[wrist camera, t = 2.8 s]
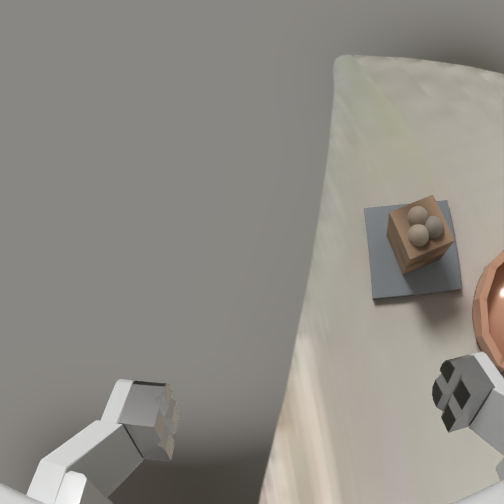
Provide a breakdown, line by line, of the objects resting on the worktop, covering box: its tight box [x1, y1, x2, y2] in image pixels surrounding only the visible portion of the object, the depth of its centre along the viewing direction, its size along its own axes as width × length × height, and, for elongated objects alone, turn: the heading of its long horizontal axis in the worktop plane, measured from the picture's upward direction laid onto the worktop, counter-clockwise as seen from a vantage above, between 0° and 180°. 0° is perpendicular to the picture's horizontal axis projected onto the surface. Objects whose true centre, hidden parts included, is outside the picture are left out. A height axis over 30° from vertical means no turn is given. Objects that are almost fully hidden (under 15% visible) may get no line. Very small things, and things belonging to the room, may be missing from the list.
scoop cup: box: [386, 195, 455, 275], centre depth 34 cm, size 6×6×9 cm
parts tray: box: [364, 200, 462, 299], centre depth 38 cm, size 12×12×1 cm
